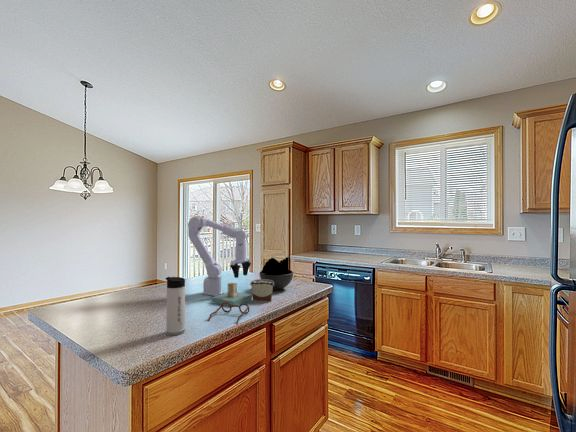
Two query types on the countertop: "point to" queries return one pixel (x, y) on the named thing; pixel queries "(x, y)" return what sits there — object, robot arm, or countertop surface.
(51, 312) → the countertop surface
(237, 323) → the glasses
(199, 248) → the robot arm
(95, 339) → the countertop surface
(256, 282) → the food container
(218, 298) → the holder plate
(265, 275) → the bowl of black rocks
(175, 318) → the travel mug
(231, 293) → the wood stick
